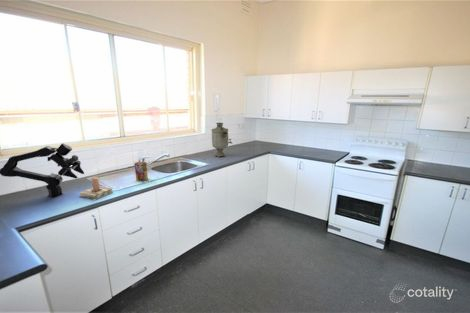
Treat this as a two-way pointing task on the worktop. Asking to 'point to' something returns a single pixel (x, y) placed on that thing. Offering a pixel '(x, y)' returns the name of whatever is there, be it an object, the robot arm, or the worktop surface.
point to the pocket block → (95, 195)
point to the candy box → (141, 170)
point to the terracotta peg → (95, 184)
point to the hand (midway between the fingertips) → (80, 175)
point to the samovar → (220, 139)
